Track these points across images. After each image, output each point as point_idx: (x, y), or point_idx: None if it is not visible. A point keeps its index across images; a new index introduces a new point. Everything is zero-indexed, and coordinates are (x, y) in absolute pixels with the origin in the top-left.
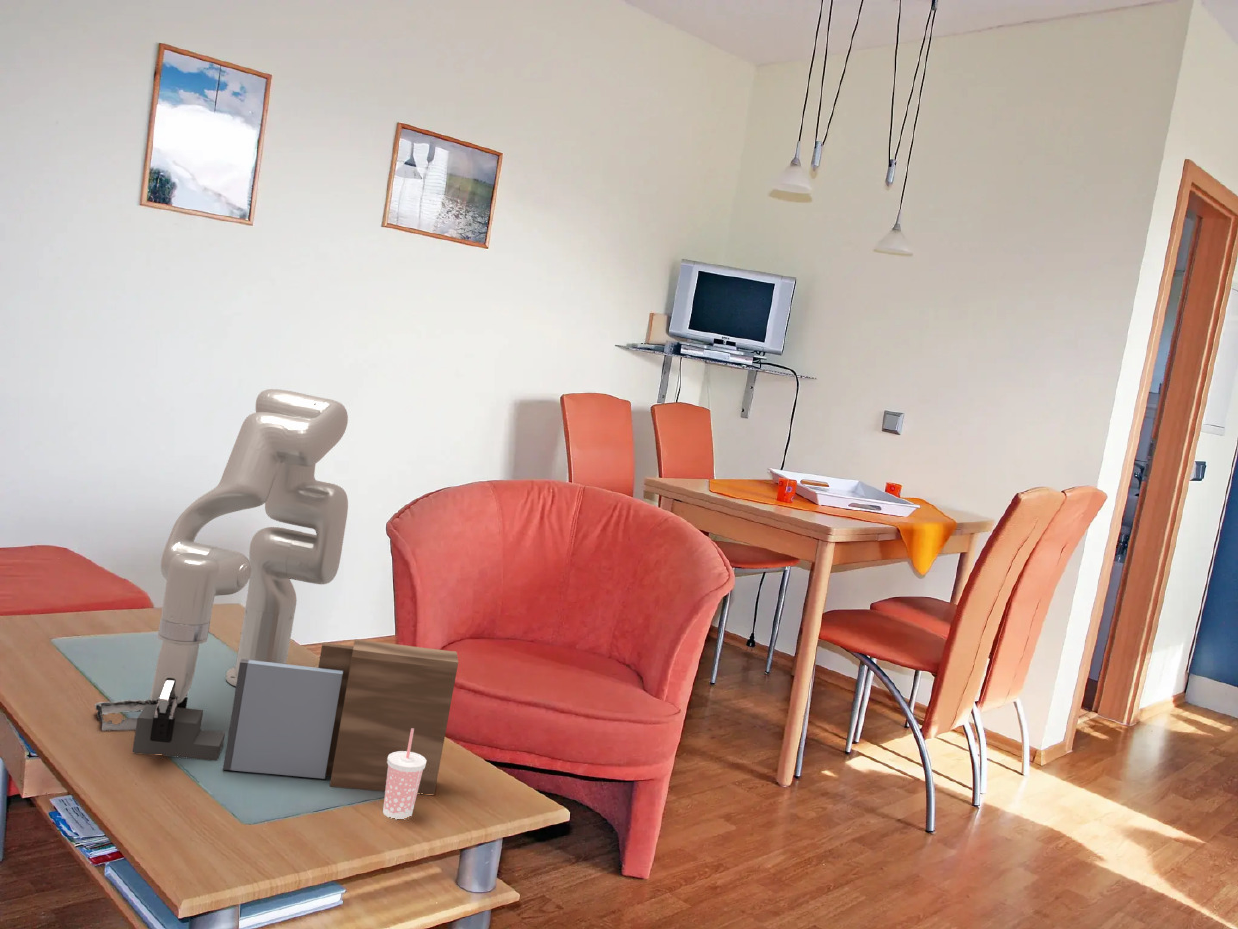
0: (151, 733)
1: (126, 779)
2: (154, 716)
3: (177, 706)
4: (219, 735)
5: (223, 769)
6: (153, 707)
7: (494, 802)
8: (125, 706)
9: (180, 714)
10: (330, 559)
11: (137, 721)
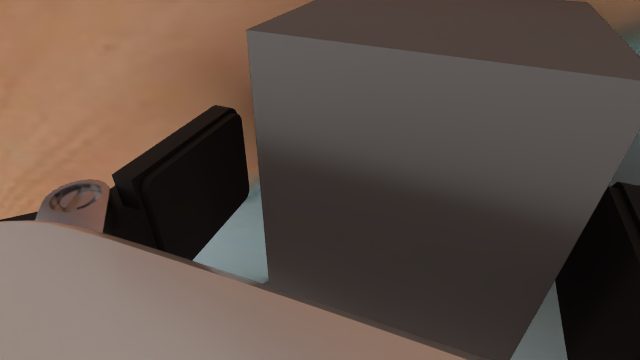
0: (194, 122)
1: (117, 7)
2: (63, 186)
3: (593, 322)
4: None
5: (265, 283)
6: (529, 156)
7: None
8: None
9: (381, 305)
10: None
11: (266, 25)
